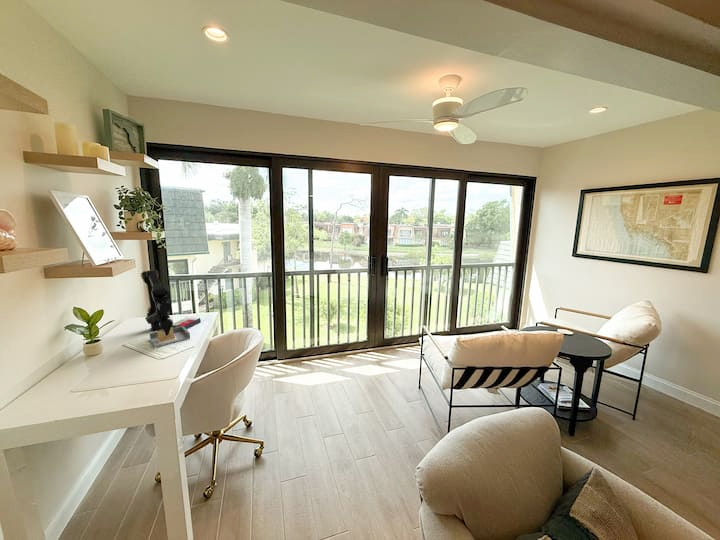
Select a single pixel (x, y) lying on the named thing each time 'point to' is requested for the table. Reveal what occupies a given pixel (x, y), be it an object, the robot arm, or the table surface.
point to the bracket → (163, 337)
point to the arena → (179, 334)
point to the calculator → (187, 322)
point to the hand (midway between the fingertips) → (165, 333)
